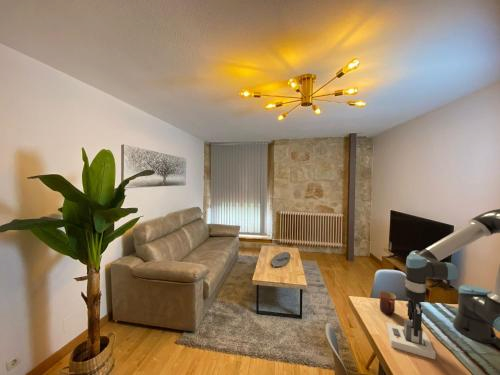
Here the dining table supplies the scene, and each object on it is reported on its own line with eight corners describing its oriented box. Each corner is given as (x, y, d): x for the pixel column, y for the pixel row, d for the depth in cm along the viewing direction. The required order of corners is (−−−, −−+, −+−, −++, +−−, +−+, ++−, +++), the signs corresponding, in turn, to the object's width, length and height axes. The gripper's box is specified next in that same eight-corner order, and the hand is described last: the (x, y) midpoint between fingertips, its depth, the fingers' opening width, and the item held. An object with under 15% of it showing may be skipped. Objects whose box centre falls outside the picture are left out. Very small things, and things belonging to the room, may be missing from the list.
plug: (418, 337, 100) (420, 320, 100) (421, 343, 96) (422, 325, 96) (403, 333, 103) (404, 316, 102) (405, 339, 99) (406, 321, 98)
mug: (375, 306, 129) (376, 290, 129) (391, 308, 127) (392, 291, 127) (384, 319, 117) (384, 301, 117) (401, 321, 115) (402, 302, 115)
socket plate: (424, 337, 103) (424, 330, 103) (435, 359, 90) (435, 351, 90) (386, 328, 110) (386, 321, 110) (391, 346, 97) (391, 339, 97)
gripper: (401, 279, 108) (399, 324, 109) (410, 296, 92) (408, 348, 93) (419, 283, 105) (417, 329, 105) (432, 300, 89) (429, 354, 90)
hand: (413, 337), depth 99 cm, fingers closed on plug, 4 cm apart
